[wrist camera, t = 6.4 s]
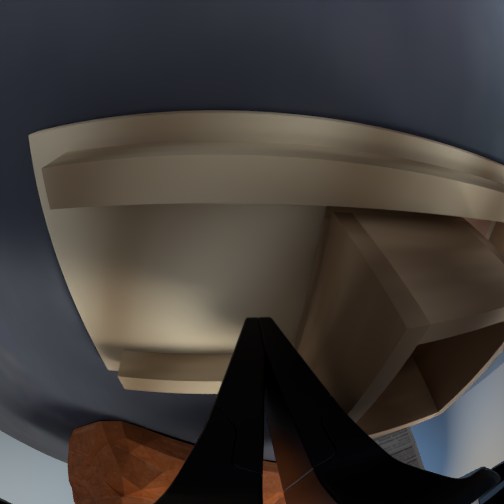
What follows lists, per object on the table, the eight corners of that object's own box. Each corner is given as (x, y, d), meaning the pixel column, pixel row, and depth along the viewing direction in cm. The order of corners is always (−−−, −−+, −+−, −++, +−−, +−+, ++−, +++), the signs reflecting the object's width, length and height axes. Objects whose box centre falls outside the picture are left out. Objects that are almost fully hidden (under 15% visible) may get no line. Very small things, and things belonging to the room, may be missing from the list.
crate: (459, 214, 9) (540, 295, 5) (402, 334, 13) (440, 414, 9) (326, 203, 8) (406, 328, 4) (293, 347, 12) (315, 450, 8)
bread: (221, 479, 35) (225, 533, 26) (62, 430, 22) (51, 506, 14) (304, 460, 30) (315, 526, 22) (121, 409, 18) (109, 533, 9)
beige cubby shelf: (515, 169, 9) (556, 197, 6) (434, 340, 16) (453, 375, 13) (38, 130, 7) (-19, 160, 4) (110, 360, 13) (99, 407, 11)
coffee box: (383, 420, 24) (418, 544, 11) (326, 439, 24) (352, 566, 11) (396, 385, 19) (449, 553, 5) (320, 411, 19) (357, 588, 6)
